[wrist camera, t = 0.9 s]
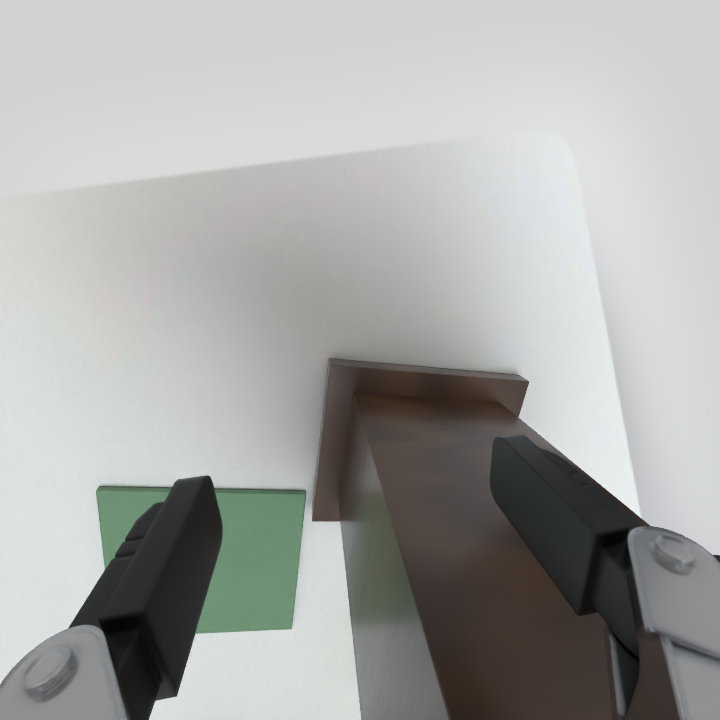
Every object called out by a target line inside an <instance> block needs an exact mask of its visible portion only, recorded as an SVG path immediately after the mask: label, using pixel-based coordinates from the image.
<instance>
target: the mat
mask: <svg viewBox="0 0 720 720" xmlns="http://www.w3.org/2000/svg"><path fill="white" fill-rule="evenodd" d="M171 489H172V488H139V487H99V488H98V489H97V490H96V494H97V503H98V512H99V521H100V529H101V538H102V547H103V556H104V565H105V569H106V568H107V566H108V565H109V563H110V561H111V560H112V559H114V558H115V554H116V552H117V550H118V549H119V547H120V546H121V544H122V542H125V538H126V536H127V534H128V533H129V531H130V530H131V528H132V527H133V525H134V523H135V522H136V520H137V519H138V518H139V517H140V516H141V515H143V514H144V513H145V512H146V511H147V510H148V509H149V508H150V507H151V506H152V505H154V504H155V503H158V502H164V501H165V499H166V498H167V496H168V494H169V492H170V490H171ZM214 490H215V494H216V498H217V502H218V506H219V510H220V514H221V518H222V524H223V537H222V544H221V548H220V552H219V555H218V558H217V562H216V565H215V568H214V572H213V575H212V579H211V582H210V585H209V589H208V592H207V596H206V599H205V602H204V606H203V609H202V613H201V616H200V619H199V623H198V626H197V630H196V633H217V632H239V631H260V630H281V629H292V622H293V612H294V603H295V593H296V584H297V574H298V565H299V555H300V545H301V536H302V526H303V517H304V507H305V498H306V491H283V490H235V489H214ZM196 633H195V634H196Z"/></svg>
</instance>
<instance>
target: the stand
mask: <svg viewBox="0 0 720 720" xmlns="http://www.w3.org/2000/svg"><path fill="white" fill-rule="evenodd" d="M528 384H529V381H527V380H526V379H524V378H523V377H521V376H519V375H512V374H501V373H489V372H478V371H466V370H455V369H443V368H432V367H420V366H409V365H398V364H386V363H375V362H363V361H352V360H340V359H329V362H328V371H327V380H326V389H325V398H324V407H323V416H322V424H321V433H320V442H319V451H318V460H317V469H316V478H315V487H314V495H313V504H312V521H341V531H342V540H343V550H344V559H345V569H346V578H347V587H348V597H349V606H350V616H351V625H352V634H353V644H354V653H355V663H356V672H357V682H358V691H359V700H360V710H361V719H362V720H613V719H612V709H611V699H610V689H609V679H608V669H607V659H606V649H605V639H604V628H605V624H606V622H605V621H604V619H603V618H602V617H601V615H600V614H599V613H593V614H588V615H583V616H577V614H576V613H575V612H574V610H573V609H572V607H571V606H570V605H569V603H568V602H567V600H566V599H565V598H564V596H563V595H562V594H561V592H560V591H559V589H558V588H557V587H556V585H555V584H554V582H553V581H552V580H551V578H550V577H549V576H548V574H547V573H546V571H545V570H544V569H543V567H542V566H541V564H540V563H539V562H538V560H537V559H536V558H535V556H534V555H533V553H532V552H531V551H530V549H529V548H528V546H527V545H526V544H525V542H524V541H523V540H522V538H521V537H520V535H519V534H518V533H517V531H516V530H515V528H514V527H513V526H512V524H511V523H510V522H509V520H508V519H507V517H506V516H505V515H504V513H503V512H502V510H501V509H500V508H499V506H498V505H497V503H496V502H495V500H494V498H493V495H492V492H491V488H490V470H491V457H492V444H493V440H494V438H495V437H500V436H507V435H514V434H524V435H525V436H527V437H528V438H529V439H530V440H531V441H532V442H533V443H534V444H536V445H537V446H538V447H539V448H540V449H543V448H544V449H546V450H548V451H550V452H552V453H554V454H556V455H558V456H560V457H562V458H564V459H565V460H566V461H567V462H568V463H570V464H571V465H572V466H573V467H574V468H576V469H577V470H578V472H579V473H582V474H583V475H584V476H585V477H586V478H587V479H589V480H590V481H591V484H595V485H596V486H597V487H598V488H599V489H601V490H602V491H603V492H604V493H605V494H606V495H608V496H609V497H610V498H611V499H612V500H614V501H615V502H616V503H617V504H618V505H620V506H621V507H622V508H623V509H624V510H625V511H627V512H628V513H629V514H630V515H631V516H633V517H634V518H635V519H636V520H637V521H639V522H640V523H641V524H642V525H643V526H650V525H649V524H647V523H646V522H645V521H644V520H642V519H641V518H640V517H639V516H638V515H636V514H635V513H634V512H633V511H631V510H630V509H629V508H628V507H627V506H625V505H624V504H623V503H622V502H621V501H619V500H618V499H617V498H616V497H614V496H613V495H612V494H611V493H610V492H608V491H607V490H606V489H605V488H603V487H602V486H601V485H600V484H599V483H597V482H596V481H595V480H594V479H592V478H591V477H590V476H589V475H588V474H586V473H585V472H584V471H583V470H582V469H580V468H579V467H578V466H577V465H575V464H574V463H573V462H572V461H571V460H569V459H568V458H567V457H566V456H564V455H563V454H562V453H561V452H560V451H558V450H557V449H556V448H555V447H553V446H552V445H551V444H550V443H549V442H547V441H546V440H545V439H544V438H542V437H541V436H540V435H539V434H538V433H536V432H535V431H534V430H533V429H532V428H530V427H529V426H528V425H527V424H525V423H524V422H523V421H522V420H521V419H519V418H518V417H519V414H520V410H521V407H522V404H523V400H524V397H525V394H526V390H527V387H528Z"/></svg>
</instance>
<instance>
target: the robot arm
mask: <svg viewBox="0 0 720 720" xmlns="http://www.w3.org/2000/svg"><path fill="white" fill-rule="evenodd" d="M490 488H491V492H492V495H493V498H494V500H495V502H496V503H497V505H498V506H499V508H500V509H501V510H502V512H503V513H504V515H505V516H506V517H507V519H508V520H509V522H510V523H511V524H512V526H513V527H514V528H515V530H516V531H517V533H518V534H519V535H520V537H521V538H522V540H523V541H524V542H525V544H526V545H527V546H528V548H529V549H530V551H531V552H532V553H533V555H534V556H535V558H536V559H537V560H538V562H539V563H540V564H541V566H542V567H543V569H544V570H545V571H546V573H547V574H548V576H549V577H550V578H551V580H552V581H553V582H554V584H555V585H556V587H557V588H558V589H559V591H560V592H561V594H562V595H563V596H564V598H565V599H566V600H567V602H568V603H569V605H570V606H571V607H572V609H573V610H574V612H575V613H576V614H577V616H583V615H588V614H593V613H599V614H600V615H601V617H602V618H603V619H604V621H605V622H606V624H605V628H604V639H605V649H606V659H607V669H608V679H609V689H610V699H611V709H612V719H613V720H720V556H719V555H712V554H711V553H710V552H708V551H707V550H706V549H705V548H703V547H702V546H700V545H699V544H697V543H696V542H694V541H692V540H691V539H689V538H687V537H685V536H683V535H681V534H678V533H676V532H673V531H670V530H667V529H664V528H659V527H652V526H643V525H642V524H641V523H640V522H639V521H637V520H636V519H635V518H634V517H633V516H631V515H630V514H629V513H628V512H627V511H625V510H624V509H623V508H622V507H621V506H620V505H618V504H617V503H616V502H615V501H614V500H612V499H611V498H610V497H609V496H608V495H606V494H605V493H604V492H603V491H602V490H601V489H599V488H598V487H597V486H596V485H595V484H591V481H590V480H589V479H587V478H586V477H585V476H584V475H583V474H582V473H579V472H578V470H577V469H576V468H574V467H573V466H572V465H571V464H570V463H568V462H567V461H566V460H565V459H564V458H562V457H560V456H558V455H556V454H554V453H552V452H550V451H548V450H546V449H544V448H543V449H540V448H539V447H538V446H537V445H536V444H534V443H533V442H532V441H531V440H530V439H529V438H528V437H527V436H525V435H524V434H514V435H507V436H500V437H495V438H494V440H493V444H492V457H491V470H490ZM222 537H223V524H222V518H221V514H220V510H219V506H218V502H217V498H216V494H215V490H214V486H213V482H212V480H211V478H210V476H200V477H193V478H186V479H179V480H177V481H176V482H175V483H174V485H173V487H172V489H171V490H170V492H169V494H168V496H167V498H166V499H165V501H164V502H158V503H155V504H154V505H152V506H151V507H150V508H149V509H148V510H147V511H146V512H145V513H144V514H143V515H141V516H140V517H139V518H138V519H137V520H136V522H135V523H134V525H133V527H132V528H131V530H130V531H129V533H128V534H127V536H126V538H125V542H122V544H121V546H120V547H119V549H118V550H117V552H116V554H115V558H114V559H112V560H111V561H110V563H109V565H108V566H107V568H106V569H105V571H104V573H103V574H102V576H101V577H100V579H99V581H98V582H97V584H96V585H95V587H94V588H93V590H92V592H91V593H90V595H89V596H88V598H87V600H86V601H85V603H84V604H83V606H82V607H81V609H80V611H79V612H78V614H77V615H76V617H75V619H74V620H73V622H72V623H71V625H70V626H69V628H68V629H66V630H64V631H62V632H60V633H57V634H56V635H54V636H52V637H50V638H49V639H47V640H45V641H44V642H42V643H41V644H40V645H38V646H37V647H36V648H34V649H33V650H32V651H30V652H29V653H28V654H27V655H26V656H25V657H24V658H23V659H21V660H20V661H19V662H18V663H17V665H16V666H15V667H14V668H13V669H12V670H11V671H10V672H9V674H8V675H7V676H6V677H5V678H4V680H3V681H2V683H1V684H0V720H149V717H150V714H151V711H152V708H153V705H154V702H155V701H156V700H161V699H166V698H171V697H176V696H177V694H178V691H179V687H180V684H181V680H182V677H183V674H184V670H185V667H186V663H187V660H188V657H189V653H190V650H191V646H192V643H193V640H194V636H195V633H196V630H197V626H198V623H199V619H200V616H201V613H202V609H203V606H204V602H205V599H206V596H207V592H208V589H209V585H210V582H211V579H212V575H213V572H214V568H215V565H216V562H217V558H218V555H219V552H220V548H221V544H222Z"/></svg>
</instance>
